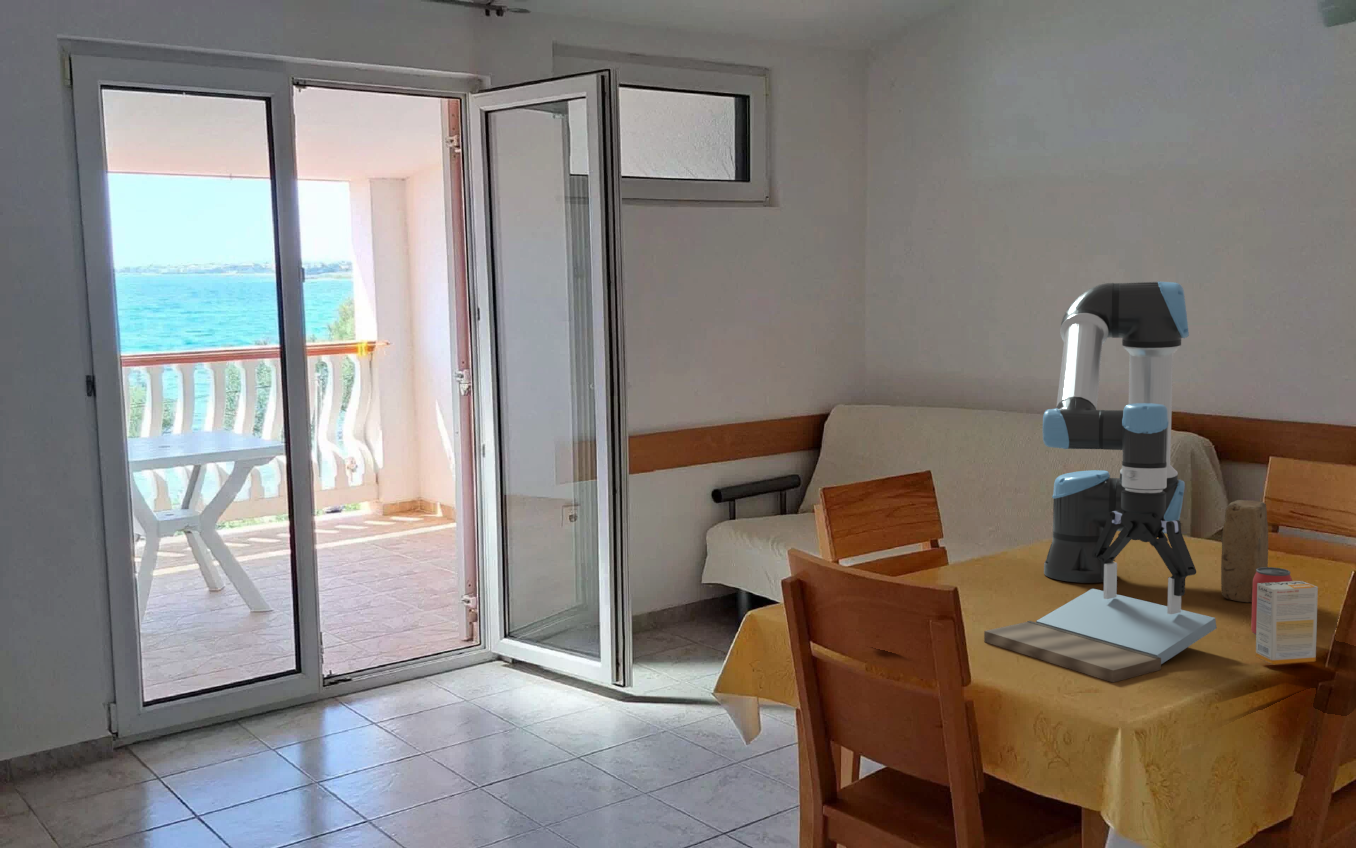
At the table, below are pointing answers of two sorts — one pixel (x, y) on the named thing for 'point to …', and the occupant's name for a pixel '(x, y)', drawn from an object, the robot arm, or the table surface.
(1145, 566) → the table surface
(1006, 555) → the table surface
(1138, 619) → the plank
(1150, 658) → the floor board
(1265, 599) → the supplement box
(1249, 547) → the block
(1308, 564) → the table surface
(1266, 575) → the beer can
